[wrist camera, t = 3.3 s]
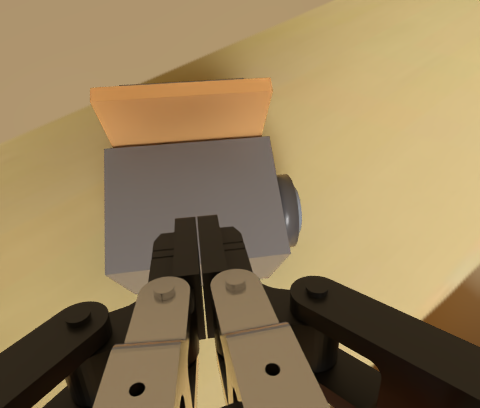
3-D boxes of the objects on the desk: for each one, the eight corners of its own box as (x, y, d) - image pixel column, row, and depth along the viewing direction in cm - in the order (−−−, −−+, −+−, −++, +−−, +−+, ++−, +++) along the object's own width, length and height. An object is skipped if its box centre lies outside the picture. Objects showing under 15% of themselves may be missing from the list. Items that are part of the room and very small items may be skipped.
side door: (136, 194, 35) (90, 101, 21) (136, 177, 36) (90, 76, 22) (249, 184, 36) (272, 90, 23) (246, 168, 37) (268, 67, 23)
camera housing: (135, 294, 32) (105, 275, 23) (132, 199, 35) (104, 148, 26) (290, 275, 34) (321, 249, 25) (274, 186, 37) (296, 134, 28)
